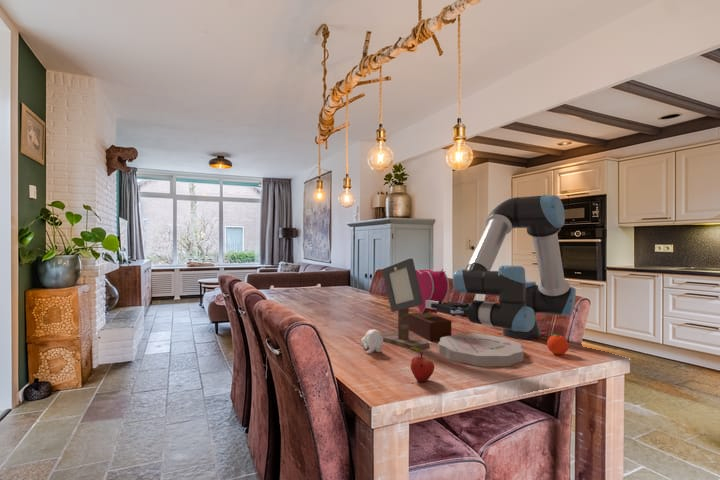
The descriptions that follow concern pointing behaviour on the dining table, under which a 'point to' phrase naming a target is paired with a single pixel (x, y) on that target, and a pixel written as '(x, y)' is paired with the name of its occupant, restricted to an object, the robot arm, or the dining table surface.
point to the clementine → (557, 344)
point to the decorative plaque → (480, 349)
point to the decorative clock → (425, 322)
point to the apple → (421, 367)
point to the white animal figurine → (372, 341)
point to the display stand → (404, 333)
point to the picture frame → (402, 285)
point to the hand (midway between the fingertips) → (426, 303)
